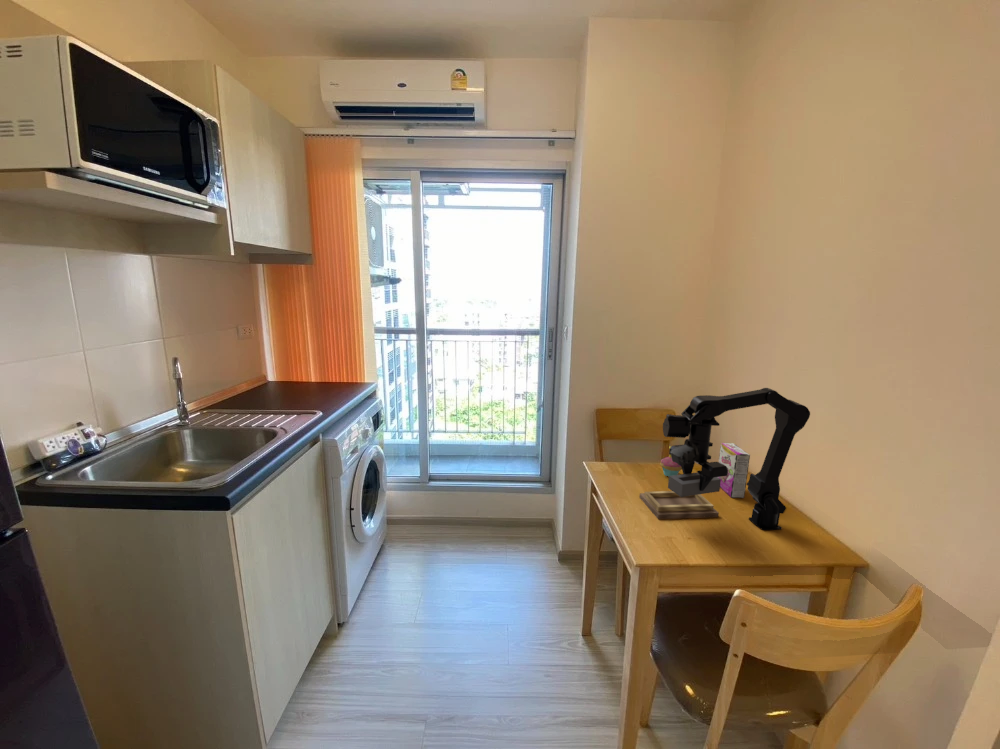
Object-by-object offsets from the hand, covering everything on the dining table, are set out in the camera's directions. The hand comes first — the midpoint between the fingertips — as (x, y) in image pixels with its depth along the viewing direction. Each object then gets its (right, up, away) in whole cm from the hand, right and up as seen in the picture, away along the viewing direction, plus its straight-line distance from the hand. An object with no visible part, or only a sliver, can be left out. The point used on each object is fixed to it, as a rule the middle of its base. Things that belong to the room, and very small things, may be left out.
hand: (693, 485), depth 127 cm
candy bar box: (+23, -8, +22) cm, 33 cm away
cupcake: (+7, -5, +34) cm, 35 cm away
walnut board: (-1, -10, +10) cm, 14 cm away
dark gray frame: (0, -1, 0) cm, 1 cm away
